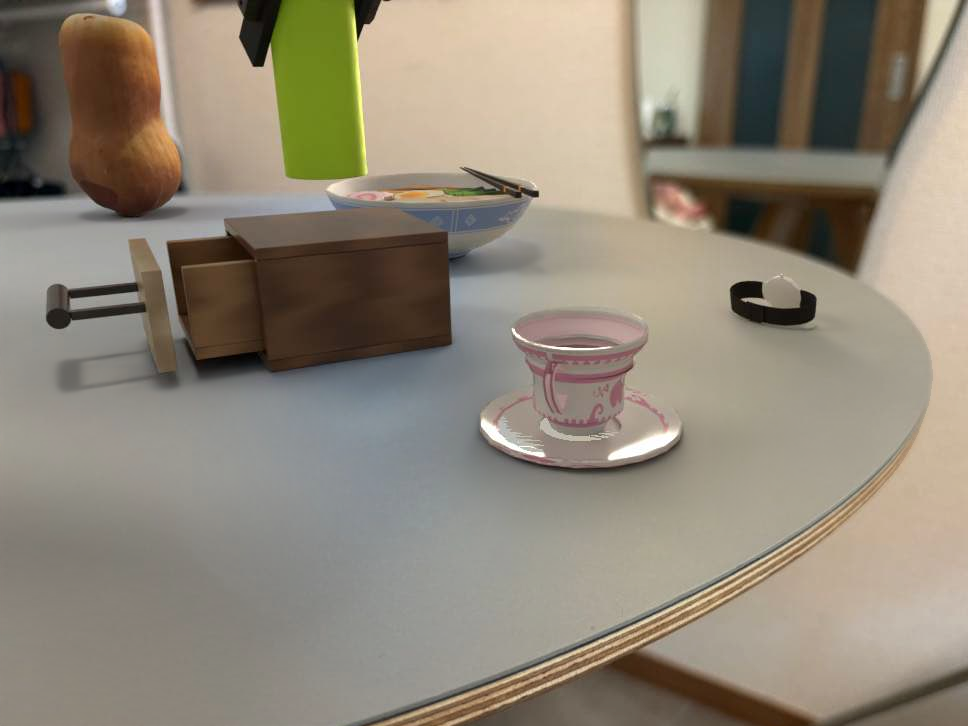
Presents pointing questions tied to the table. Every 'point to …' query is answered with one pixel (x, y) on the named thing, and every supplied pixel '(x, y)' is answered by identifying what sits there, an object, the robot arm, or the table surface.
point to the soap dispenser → (319, 89)
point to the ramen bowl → (444, 202)
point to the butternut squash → (117, 115)
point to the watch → (774, 302)
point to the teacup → (582, 392)
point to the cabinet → (347, 284)
